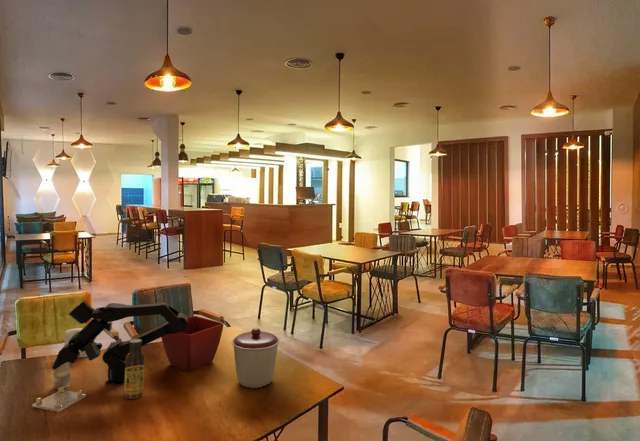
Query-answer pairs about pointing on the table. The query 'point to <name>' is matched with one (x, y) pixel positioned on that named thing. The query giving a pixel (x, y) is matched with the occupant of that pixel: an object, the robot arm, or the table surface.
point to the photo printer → (69, 335)
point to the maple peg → (62, 376)
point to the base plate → (59, 400)
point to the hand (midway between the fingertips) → (57, 363)
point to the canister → (255, 357)
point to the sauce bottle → (134, 371)
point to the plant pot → (193, 343)
